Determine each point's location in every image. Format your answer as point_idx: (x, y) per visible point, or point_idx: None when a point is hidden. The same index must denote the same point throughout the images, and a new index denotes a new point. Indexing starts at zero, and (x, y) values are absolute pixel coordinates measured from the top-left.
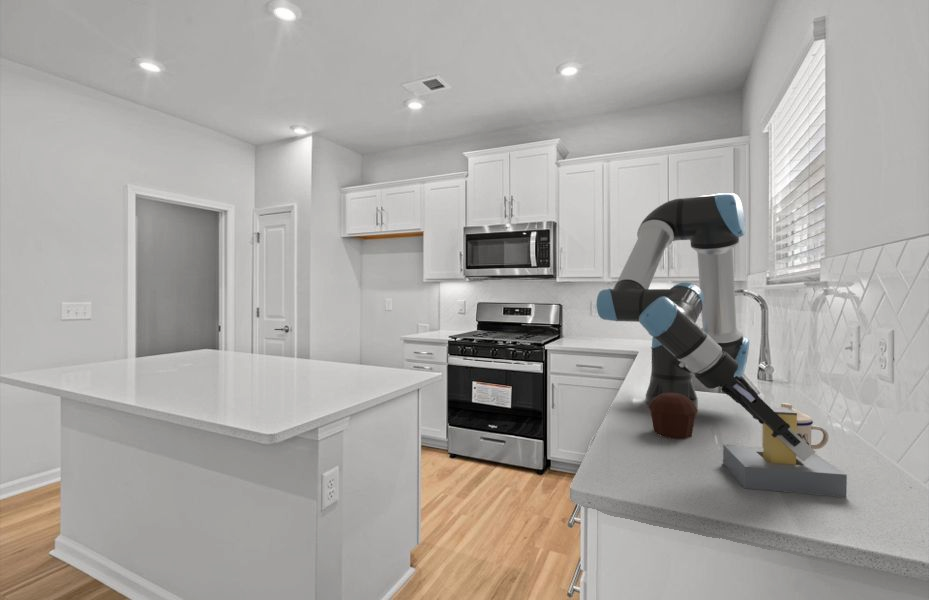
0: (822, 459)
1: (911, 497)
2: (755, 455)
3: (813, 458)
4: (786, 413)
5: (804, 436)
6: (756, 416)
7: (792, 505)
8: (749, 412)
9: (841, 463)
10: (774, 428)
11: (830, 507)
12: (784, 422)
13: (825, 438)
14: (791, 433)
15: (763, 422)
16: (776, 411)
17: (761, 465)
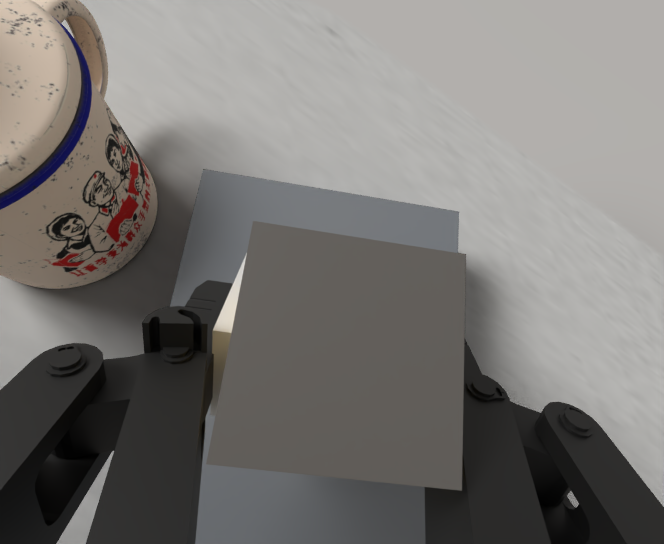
0: (309, 192)
1: (398, 78)
2: (280, 472)
3: (301, 220)
4: (457, 345)
5: (113, 125)
6: (198, 505)
7: None
8: (64, 525)
9: (152, 71)
10: (584, 541)
11: (508, 334)
12: (625, 471)
13: (95, 35)
14: (474, 364)
15: (204, 420)
16: (438, 434)
17: (419, 514)
